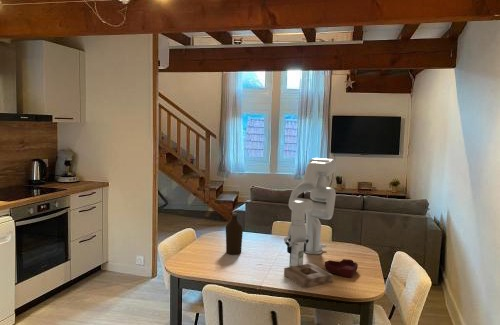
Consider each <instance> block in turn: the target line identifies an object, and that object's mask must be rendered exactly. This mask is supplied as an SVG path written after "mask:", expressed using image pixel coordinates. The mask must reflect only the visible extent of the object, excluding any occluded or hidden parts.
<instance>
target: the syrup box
mask: <svg viewBox="0 0 500 325" xmlns="http://www.w3.org/2000/svg"><path fill="white" fill-rule="evenodd" d="M291 247H292V250H291V254H290V253H289V267H293V266H298V265H304V253H305V252H304V242H298V243H293V244H292V245H291Z"/></svg>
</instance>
